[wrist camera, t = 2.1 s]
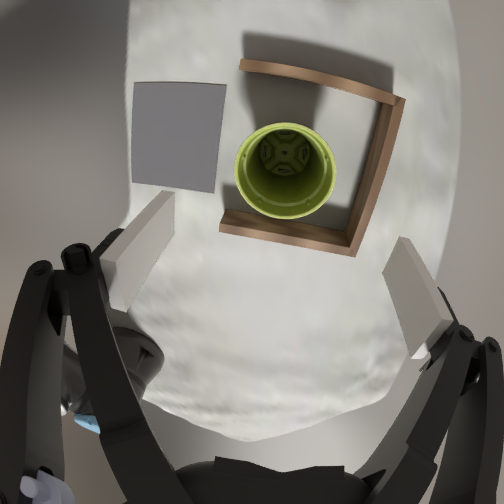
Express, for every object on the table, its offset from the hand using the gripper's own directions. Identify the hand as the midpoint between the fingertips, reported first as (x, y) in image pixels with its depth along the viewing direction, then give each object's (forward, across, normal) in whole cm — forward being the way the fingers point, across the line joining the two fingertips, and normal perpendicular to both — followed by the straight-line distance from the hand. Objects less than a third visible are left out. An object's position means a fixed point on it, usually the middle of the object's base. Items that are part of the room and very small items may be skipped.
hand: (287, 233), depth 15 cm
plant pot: (+20, 0, 0) cm, 20 cm away
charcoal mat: (+20, +14, 0) cm, 24 cm away
